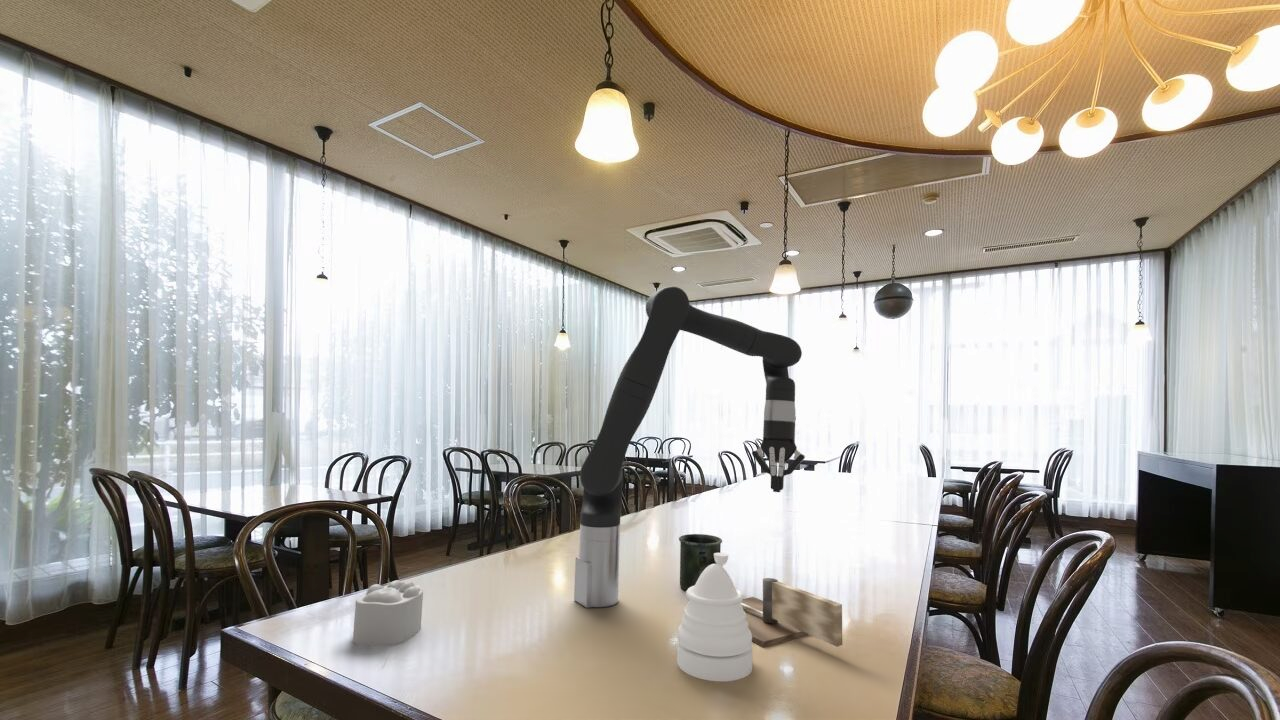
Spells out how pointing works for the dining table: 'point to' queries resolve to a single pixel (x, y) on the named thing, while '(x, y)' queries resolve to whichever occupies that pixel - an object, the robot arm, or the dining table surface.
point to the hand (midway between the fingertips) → (776, 491)
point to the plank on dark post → (801, 611)
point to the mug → (696, 556)
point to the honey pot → (715, 628)
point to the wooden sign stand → (767, 626)
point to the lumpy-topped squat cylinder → (388, 614)
